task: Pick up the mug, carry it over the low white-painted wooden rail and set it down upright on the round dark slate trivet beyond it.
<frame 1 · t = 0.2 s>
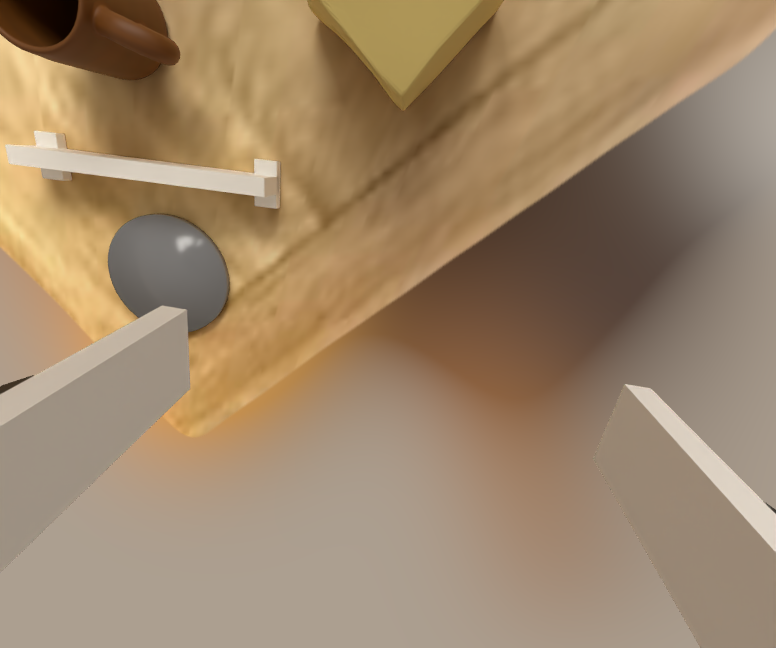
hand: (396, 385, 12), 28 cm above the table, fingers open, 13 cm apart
trivet: (171, 274, 42), on the table
rail: (162, 169, 38), on the table
mug: (153, 42, 34), on the table
cheese: (410, 13, 32), on the table
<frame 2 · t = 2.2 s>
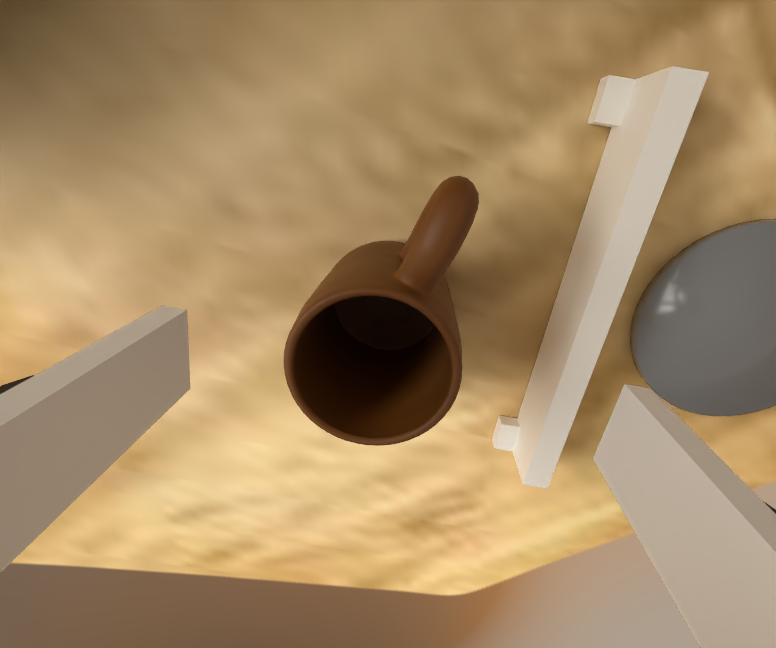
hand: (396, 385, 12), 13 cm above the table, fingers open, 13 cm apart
trivet: (737, 322, 24), on the table
rail: (570, 295, 24), on the table
mug: (403, 267, 25), on the table
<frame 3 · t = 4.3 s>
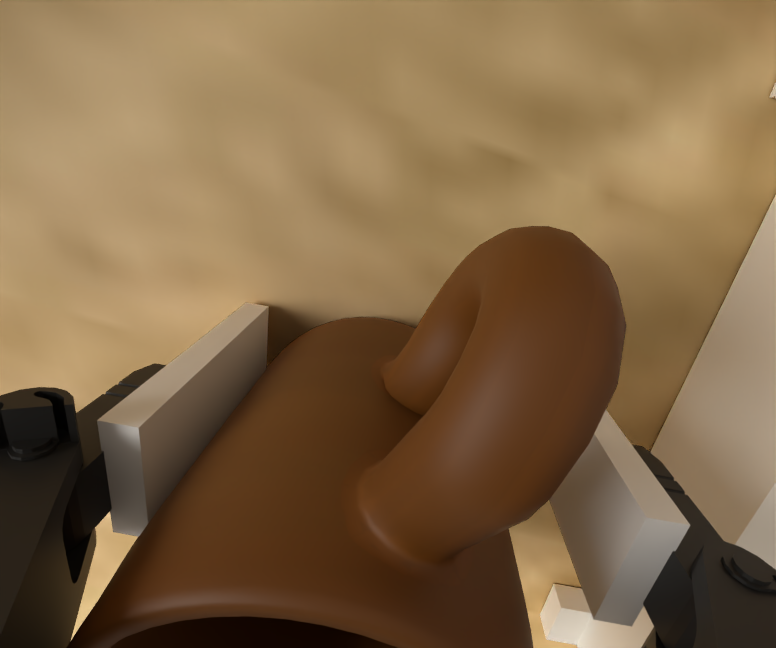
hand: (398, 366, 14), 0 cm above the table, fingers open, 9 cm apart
rail: (694, 411, 14), on the table
mug: (398, 357, 14), on the table, touching gripper
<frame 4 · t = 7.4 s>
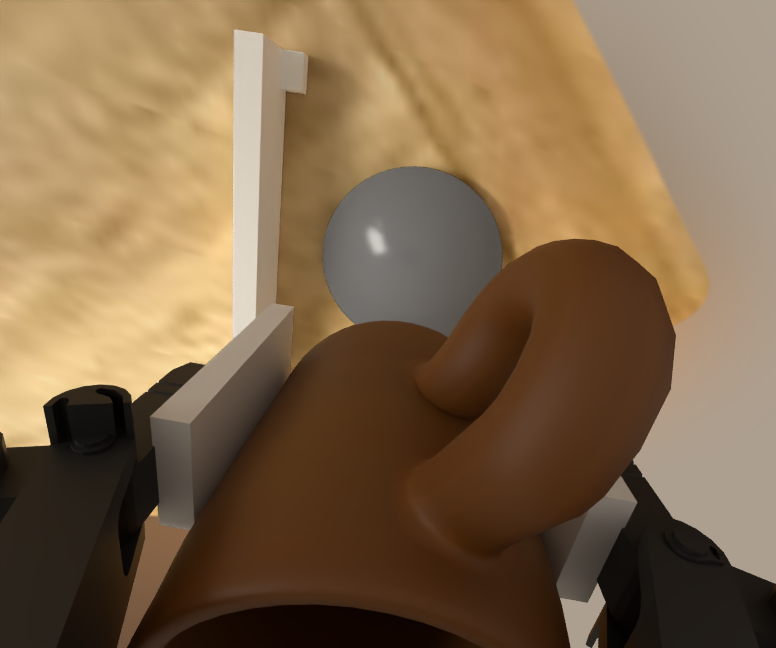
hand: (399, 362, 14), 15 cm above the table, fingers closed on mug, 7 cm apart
trivet: (411, 259, 28), on the table
rail: (268, 236, 28), on the table
mug: (419, 359, 14), point 15 cm above the table, touching gripper
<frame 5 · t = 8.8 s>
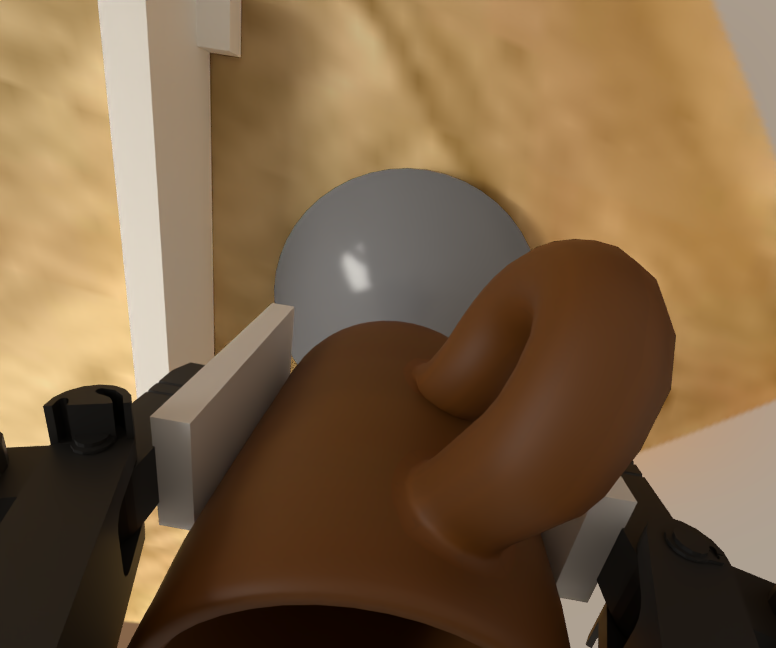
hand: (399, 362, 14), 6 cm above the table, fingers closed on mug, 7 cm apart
trivet: (404, 303, 19), on the table
rail: (197, 269, 20), on the table
mug: (419, 359, 14), point 6 cm above the table, touching gripper
when the fingers open (2 cm above the table, at t = 10.1 s): mug stays where it is, resting on trivet.
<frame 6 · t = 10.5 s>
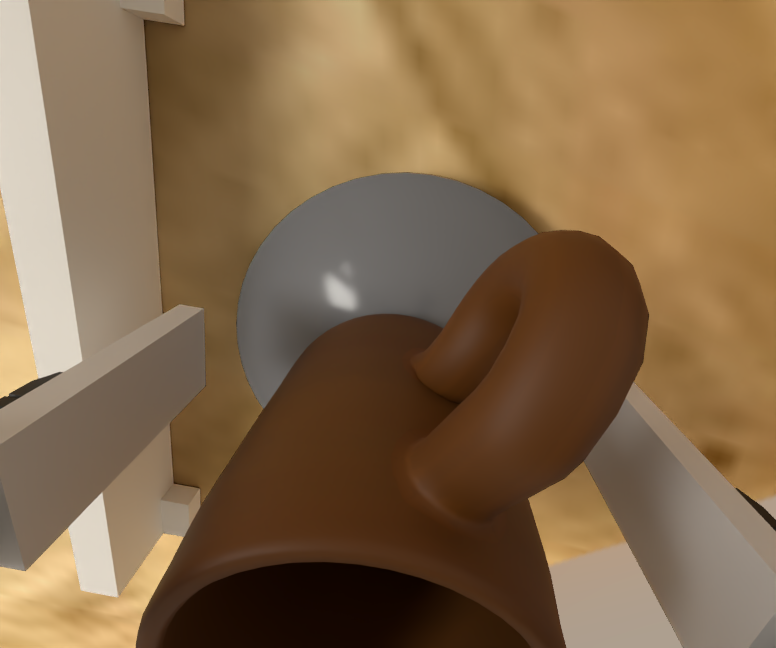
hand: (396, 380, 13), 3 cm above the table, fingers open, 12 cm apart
trivet: (401, 342, 15), on the table
rail: (142, 298, 16), on the table
mug: (417, 352, 15), point 1 cm above the table, touching trivet
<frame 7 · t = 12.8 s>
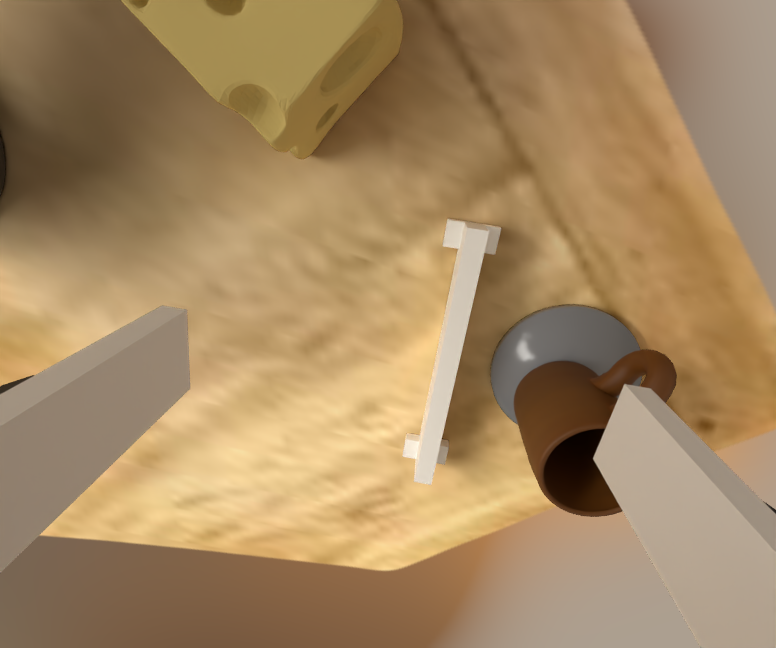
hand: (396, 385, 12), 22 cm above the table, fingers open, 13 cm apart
trivet: (562, 371, 35), on the table
rail: (445, 351, 35), on the table
mug: (572, 376, 34), point 1 cm above the table, touching trivet
cheese: (305, 46, 29), on the table
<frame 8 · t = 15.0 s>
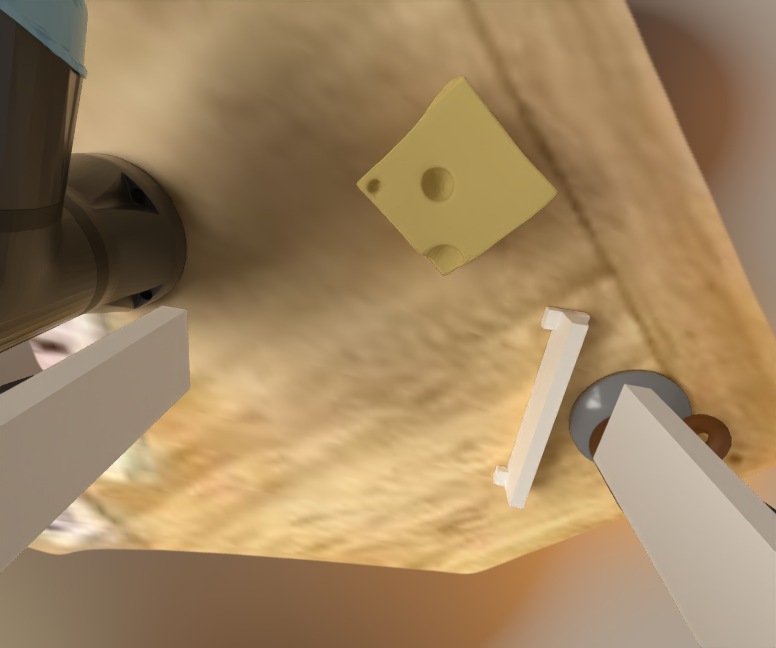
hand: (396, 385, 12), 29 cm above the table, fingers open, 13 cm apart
trivet: (626, 419, 45), on the table
rail: (535, 403, 45), on the table
mug: (635, 423, 44), point 1 cm above the table, touching trivet
cheese: (446, 181, 37), on the table
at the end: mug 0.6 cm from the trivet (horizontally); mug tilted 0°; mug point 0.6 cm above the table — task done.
